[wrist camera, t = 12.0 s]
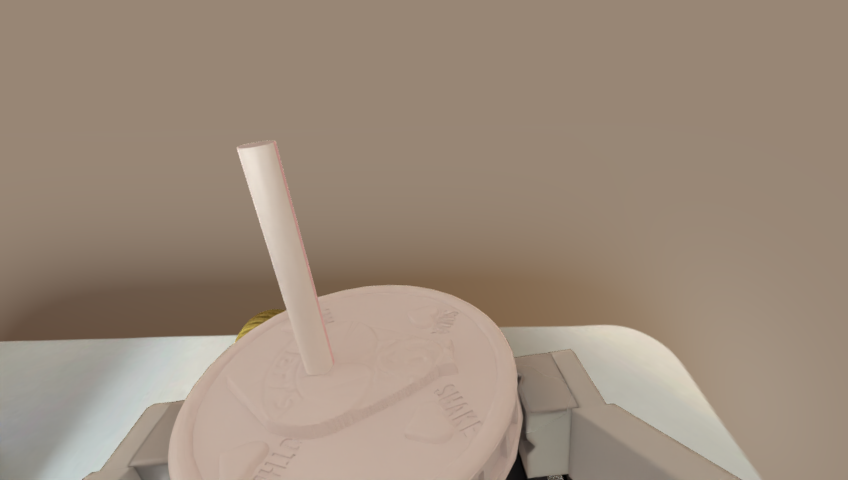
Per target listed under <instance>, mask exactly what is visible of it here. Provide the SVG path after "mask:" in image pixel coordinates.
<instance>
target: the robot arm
mask: <svg viewBox="0 0 848 480" xmlns="http://www.w3.org/2000/svg"><path fill="white" fill-rule="evenodd" d="M514 359H515V363H516V370H517V383H518V386H517V390H518V393H519V397H520V401H521V407H522V414H523V422H522V427H521V433H520V439H519V445H518V449H519V452H520V455H521V459H522V462H523V465H524V468H525V471H526V474H527V477H528V478H534V477H544V476H553V475H563V474H569V477H570V478H571V479H572V480H741V479H740V478H738V477H736V476H735V475H733V474H731V473H730V472H728V471H726V470H725V469H723V468H721V467H719V466H718V465H716V464H714V463H713V462H711V461H709V460H708V459H706V458H704V457H703V456H701V455H699V454H698V453H696V452H694V451H693V450H691V449H689V448H688V447H686V446H684V445H683V444H681V443H679V442H678V441H676V440H674V439H673V438H671V437H669V436H668V435H666V434H664V433H663V432H661V431H659V430H657V429H656V428H654V427H652V426H651V425H649V424H647V423H646V422H644V421H642V420H641V419H639V418H637V417H636V416H634V415H632V414H631V413H629V412H627V411H626V410H624V409H622V408H621V407H619V406H617V405H616V404H606V402H605V401H604V399H603V398H602V396H601V394H600V393H599V391H598V389H597V388H596V386H595V385H594V383H593V381H592V380H591V378H590V377H589V375H588V373H587V372H586V370H585V369H584V367H583V365H582V364H581V362H580V361H579V359H578V357H577V356H576V354H575V353H574V351H572V350H571V349H568V350H561V351H554V352H548V353H543V354H536V355H528V356H521V357H514ZM184 401H185V400H181V401H176V402H167V403H157V404H153V405H152V406H150V407H148V408H147V409H146V410H145V411H144V413H143V414H142V415H141V417H140V418H139V419H138V421H137V422H136V423H135V425H134V426H133V427H132V429H131V430H130V431H129V433H128V434H127V435H126V437H125V438H124V439H123V441H122V442H121V443H120V445H119V446H118V447H117V449H116V450H115V451H114V453H113V454H112V455H111V457H110V458H109V459H108V461H107V462H106V463H105V465H104V466H103V467H102V469H101V470H100V471H98V472H92V473H90V474H89V475H88V476H86V477H85V478H83V479H82V480H170V476H169V471H168V450H169V441H170V437H171V433H172V429H173V426H174V423H175V421H176V418H177V415H178V413H179V411H180V409H181V407H182V405H183V403H184Z"/></svg>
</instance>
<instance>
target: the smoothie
mask: <svg viewBox="0 0 848 480" xmlns="http://www.w3.org/2000/svg"><path fill="white" fill-rule="evenodd" d="M237 151H238V154H239V157H240V160H241V164H242V167H243V170H244V173H245V176H246V180H247V183H248V186H249V189H250V193H251V196H252V199H253V202H254V206H255V209H256V212H257V215H258V219H259V222H260V225H261V228H262V231H263V234H264V238H265V241H266V244H267V248H268V251H269V254H270V257H271V260H272V264H273V267H274V270H275V273H276V277H277V279H278V283H279V286H280V290H281V293H282V296H283V299H284V303H285V306H286V309H287V310H286V311H284V312H282V313H280V314H278V315H276V316H274V317H272V318H270V319H269V320H267V321H265V322H264V323H262V324H260V325H259V326H257V327H255V328H254V329H252V330H251V331H249V332H248V333H247V334H245V335H244V336H243V337H241V338H240V339H239V340H238V341H236V342H235V343H234V344H232V345H231V346H230V347H229V348H228V349H227V350H226V351H225V352H224V353H222V354H221V355H220V356H219V357H218V358H217V359H216V360H215V361H214V362H213V363H212V364H211V365H210V366H209V367H208V369H207V370H206V371H205V373H204V374H203V375H202V376H201V377H200V379H199V380H198V381H197V383H196V384H195V385H194V386H193V388H192V390H191V391H190V393H189V395H188V396H187V398H186V399H185V401H184V403H183V405H182V407H181V409H180V411H179V413H178V415H177V418H176V421H175V423H174V426H173V429H172V433H171V437H170V441H169V450H168V471H169V476H170V480H505V479H506V478H507V476H508V474H509V472H510V470H511V468H512V466H513V464H514V462H515V460H516V456H517V450H518V445H519V439H520V433H521V427H522V422H523V414H522V407H521V401H520V397H519V393H518V390H517V386H518V383H517V370H516V363H515V359H514V356H513V352H512V350H511V347H510V345H509V343H508V341H507V339H506V338H505V336H504V334H503V333H502V331H501V330H500V329H499V327H498V326H497V325H496V324H495V323H494V322H493V321H492V320H491V319H490V318H489V317H488V316H487V315H486V314H484V313H483V312H482V311H481V310H479V309H478V308H476V307H475V306H473V305H471V304H470V303H468V302H465V301H464V300H462V299H459V298H457V297H455V296H453V295H450V294H447V293H443V292H440V291H436V290H433V289H428V288H421V287H415V286H404V285H382V286H367V287H361V288H355V289H349V290H343V291H340V292H336V293H332V294H328V295H325V296H321V297H317V294H316V290H315V286H314V283H313V279H312V275H311V272H310V267H309V264H308V260H307V256H306V252H305V249H304V246H303V241H302V238H301V234H300V230H299V226H298V223H297V219H296V215H295V212H294V208H293V204H292V201H291V197H290V193H289V189H288V185H287V182H286V178H285V174H284V171H283V167H282V163H281V159H280V155H279V152H278V148H277V144H276V141H274V140H268V141H260V142H254V143H249V144H245V145H241V146H238V147H237Z"/></svg>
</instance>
